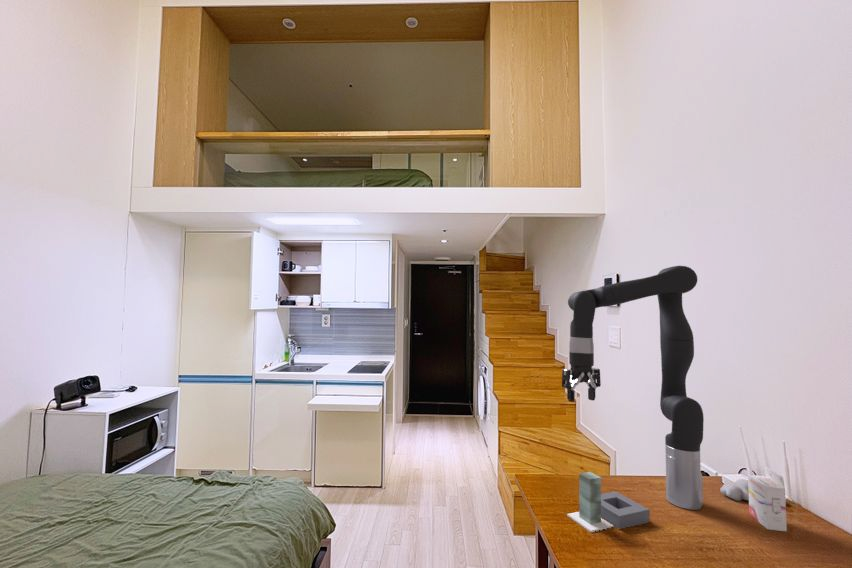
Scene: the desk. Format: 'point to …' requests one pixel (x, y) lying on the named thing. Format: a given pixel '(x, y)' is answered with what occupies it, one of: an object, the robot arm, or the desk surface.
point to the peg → (590, 497)
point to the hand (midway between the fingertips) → (581, 400)
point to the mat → (590, 527)
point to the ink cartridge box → (768, 500)
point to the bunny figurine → (736, 489)
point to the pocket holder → (622, 510)
